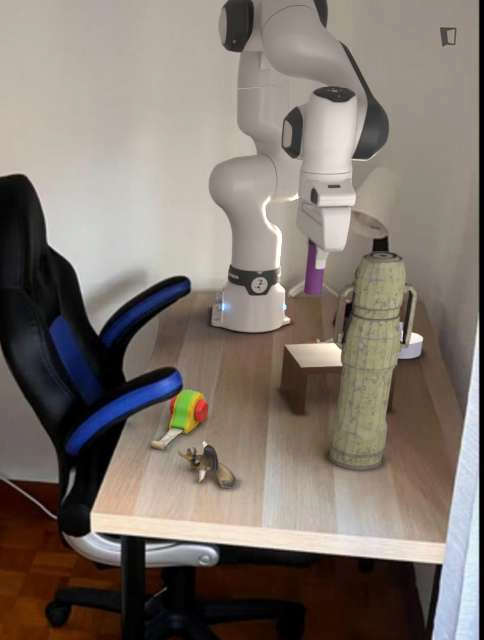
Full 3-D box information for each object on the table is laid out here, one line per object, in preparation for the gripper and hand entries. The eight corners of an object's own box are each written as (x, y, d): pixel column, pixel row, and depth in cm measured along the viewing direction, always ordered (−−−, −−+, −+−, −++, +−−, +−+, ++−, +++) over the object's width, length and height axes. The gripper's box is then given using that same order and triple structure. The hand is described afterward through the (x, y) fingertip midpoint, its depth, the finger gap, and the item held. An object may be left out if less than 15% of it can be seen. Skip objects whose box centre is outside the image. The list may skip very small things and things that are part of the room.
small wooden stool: (280, 389, 196) (284, 344, 192) (369, 386, 196) (375, 341, 192) (296, 414, 185) (301, 367, 180) (391, 411, 185) (398, 364, 180)
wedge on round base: (356, 354, 213) (419, 360, 209) (360, 324, 210) (424, 330, 205) (360, 341, 220) (421, 347, 216) (364, 313, 217) (426, 317, 213)
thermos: (312, 449, 171) (335, 249, 155) (379, 446, 171) (409, 246, 155) (328, 471, 163) (354, 263, 147) (398, 468, 163) (431, 260, 147)
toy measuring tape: (217, 416, 185) (219, 384, 182) (171, 453, 171) (173, 419, 168) (186, 410, 188) (188, 378, 185) (139, 446, 174) (140, 412, 171)
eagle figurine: (170, 474, 161) (212, 481, 155) (181, 432, 162) (225, 439, 155) (197, 485, 166) (239, 493, 160) (208, 445, 167) (251, 451, 160)
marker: (300, 290, 182) (307, 225, 177) (319, 289, 182) (326, 224, 177) (305, 295, 179) (312, 229, 174) (324, 294, 179) (332, 228, 174)
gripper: (291, 177, 181) (285, 252, 188) (321, 198, 163) (313, 280, 170) (325, 176, 181) (317, 251, 188) (359, 197, 163) (349, 278, 169)
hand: (315, 265), depth 178 cm, fingers closed on marker, 3 cm apart
